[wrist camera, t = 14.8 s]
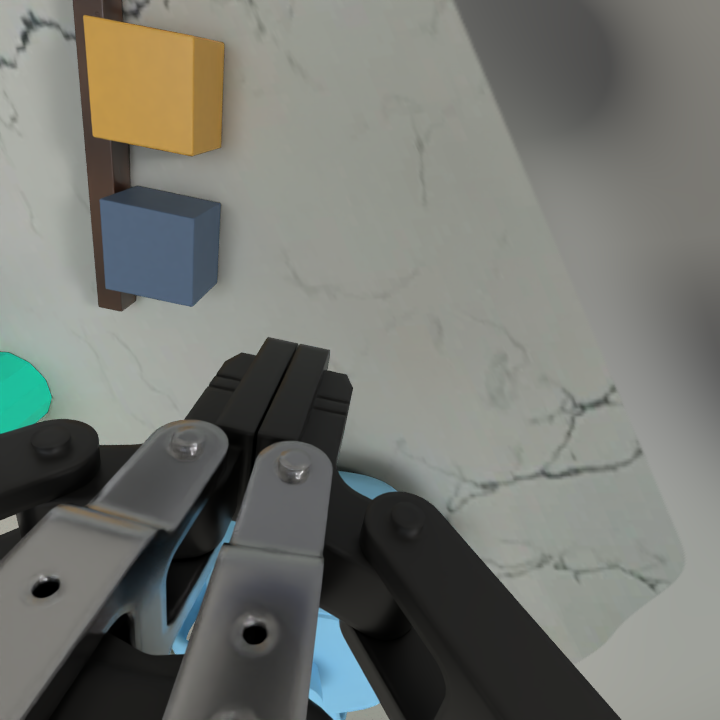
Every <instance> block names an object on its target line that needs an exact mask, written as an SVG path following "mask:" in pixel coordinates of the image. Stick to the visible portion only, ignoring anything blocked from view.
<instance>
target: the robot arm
mask: <svg viewBox="0 0 720 720" xmlns="http://www.w3.org/2000/svg"><path fill="white" fill-rule="evenodd" d="M329 357H330V350H327V349H322V348H317V347H313V346H308V345H303V344H300V345H298V343H293V342H289V341H284V340H279V339H275V338H270V337H268V338H267V339H266V340H265V342H264V344H263V345H262V347H261V349H260V350H259V352H258V354H257V355H251V354H246V353H240V354H238V355H236V356H234V357H232V358H231V359H229V360H227V361H225V363H224V364H223V365H222V367H221V368H220V370H219V371H218V372H217V375H216V376H215V377H214V378H213V380H212V381H211V382H210V384H209V387H207V388H206V389H205V391H204V392H203V394H202V395H201V397H200V398H199V399H198V401H197V402H196V404H195V405H194V406H193V408H192V409H191V411H190V412H189V414H188V415H187V416H186V418H185V419H184V420H179V421H175V422H171V423H168V424H166V425H164V426H162V427H160V428H159V429H157V430H156V431H155V432H154V433H152V435H151V436H150V437H149V438H148V439H147V440H146V441H145V442H144V443H143V444H136V445H99V438H98V434H97V432H96V431H95V430H94V429H93V428H92V427H91V426H89V425H88V424H86V423H83V422H80V421H76V420H70V419H56V420H48V421H43V422H39V423H35V424H32V425H29V426H25V427H22V428H19V429H15V430H12V431H9V432H5V433H2V434H0V520H2V519H5V518H7V517H10V516H12V515H15V514H16V516H17V521H18V525H19V528H17V529H14V530H12V531H10V532H7V533H5V534H2V535H0V720H334V719H333V718H331V717H330V716H329V715H328V714H327V713H326V712H325V711H324V710H323V709H322V708H321V707H320V706H318V705H317V704H316V703H315V702H313V701H312V700H311V699H309V689H310V680H311V672H312V663H313V655H314V646H315V637H316V629H317V620H318V612H319V608H321V609H323V610H324V611H326V612H328V613H329V614H331V615H333V616H334V617H336V618H338V619H339V626H340V630H341V633H342V635H343V637H344V639H345V641H346V643H347V644H348V646H349V648H350V650H351V652H352V653H353V655H354V657H355V659H356V660H357V662H358V664H359V666H360V668H361V669H362V671H363V673H364V675H365V677H366V678H367V680H368V682H369V684H370V685H371V687H372V689H373V691H374V693H375V694H376V696H377V698H378V700H379V702H380V703H381V705H382V707H383V709H384V710H385V712H386V714H387V716H388V718H389V719H390V720H621V719H620V717H619V716H618V715H617V714H616V713H615V712H614V711H613V709H612V708H611V707H610V706H609V705H608V704H607V703H606V702H605V700H604V699H603V698H602V697H601V696H600V695H599V694H598V692H597V691H596V690H595V689H594V688H593V687H592V685H591V684H590V683H589V682H588V681H587V680H586V679H585V677H584V676H583V675H582V674H581V673H580V672H579V671H578V670H577V668H576V667H575V666H574V665H573V664H572V663H571V662H570V660H569V659H568V658H567V657H566V656H565V655H564V654H563V652H562V651H561V650H560V649H559V648H558V647H557V646H556V644H555V643H554V642H553V641H552V640H551V639H550V638H549V636H548V635H547V634H546V633H545V632H544V631H543V630H542V628H541V627H540V626H539V625H538V624H537V623H536V622H535V620H534V619H533V618H532V617H531V616H530V615H529V614H528V612H527V611H526V610H525V609H524V608H523V607H522V606H521V604H520V603H519V602H518V601H517V600H516V599H515V598H514V596H513V595H512V594H511V593H510V592H509V591H508V590H507V588H506V587H505V586H504V585H503V584H502V583H501V582H500V581H499V579H498V578H497V577H496V576H495V575H494V574H493V573H492V571H491V570H490V569H489V568H488V567H487V566H486V565H485V563H484V562H483V561H482V560H481V559H480V558H479V557H478V555H477V554H476V553H475V552H474V551H473V550H472V549H471V547H470V546H469V545H468V544H467V543H466V542H465V541H464V539H463V538H462V537H461V536H460V535H459V534H458V533H457V531H456V530H455V529H454V528H453V527H452V526H451V525H450V523H449V522H448V521H447V520H446V519H445V518H444V517H443V515H442V514H441V513H440V512H439V511H438V510H437V509H436V508H435V507H434V506H433V505H432V504H431V503H429V502H428V501H426V500H425V499H423V498H421V497H419V496H417V495H414V494H410V493H406V492H396V491H395V492H387V493H383V494H381V495H379V496H377V497H375V498H374V499H373V500H372V499H370V498H368V497H366V496H364V495H362V494H360V493H358V492H357V491H355V490H354V489H352V488H351V487H350V486H349V485H347V484H346V483H345V481H344V480H343V479H342V478H341V476H340V474H339V472H338V469H337V461H338V457H339V452H340V448H341V443H342V439H343V434H344V429H345V424H346V420H347V415H348V410H349V405H350V400H351V395H352V390H353V387H352V385H351V383H350V381H349V378H348V376H347V375H346V374H341V373H336V372H332V371H327V369H328V363H329ZM231 521H235V522H236V523H235V526H234V530H233V533H232V536H231V539H230V541H229V543H226V542H224V543H223V545H222V539H223V538H224V536H225V534H226V531H227V529H228V527H229V524H230V522H231ZM213 567H214V568H213ZM212 568H213V571H212V574H211V577H210V580H209V583H208V586H207V589H206V591H205V594H204V597H203V600H202V603H201V606H200V609H199V612H198V615H197V618H196V621H195V624H194V627H193V630H192V633H191V636H190V639H189V642H188V645H187V648H186V651H185V654H174V655H169V654H170V651H171V648H172V646H173V643H174V641H175V639H176V636H177V634H178V632H179V631H180V629H181V627H182V625H183V623H184V621H185V619H186V617H187V616H188V614H189V612H190V610H191V608H192V606H193V604H194V602H195V600H196V599H197V597H198V595H199V593H200V591H201V589H202V587H203V585H204V584H205V582H206V580H207V578H208V576H209V574H210V572H211V570H212Z"/></svg>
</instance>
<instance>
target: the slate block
mask: <svg viewBox="0 0 720 720" xmlns="http://www.w3.org/2000/svg"><path fill="white" fill-rule="evenodd" d="M220 208H221V204H220V203H218V202H213V201H208V200H203V199H198V198H194V197H189V196H184V195H179V194H175V193H170V192H165V191H160V190H156V189H151V188H146V187H141V186H135V187H132V188H129V189H127V190H124V191H121V192H118V193H115V194H112V195H110V196H107V197H104V198H101V199H100V214H101V229H102V244H103V259H104V274H105V288H106V289H110V290H115V291H119V292H124V293H129V294H133V295H138V296H143V297H148V298H152V299H157V300H162V301H167V302H171V303H176V304H181V305H186V306H190V307H192V306H194V305H195V304H196V303H197V302H198V301H199V300H200V299H201V298H202V297H203V296H204V295H205V294H206V293H207V292H208V291H209V290H210V289H211V288H212V287H213V286H214V285H215V284H216V283H217V273H218V251H219V229H220Z"/></svg>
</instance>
